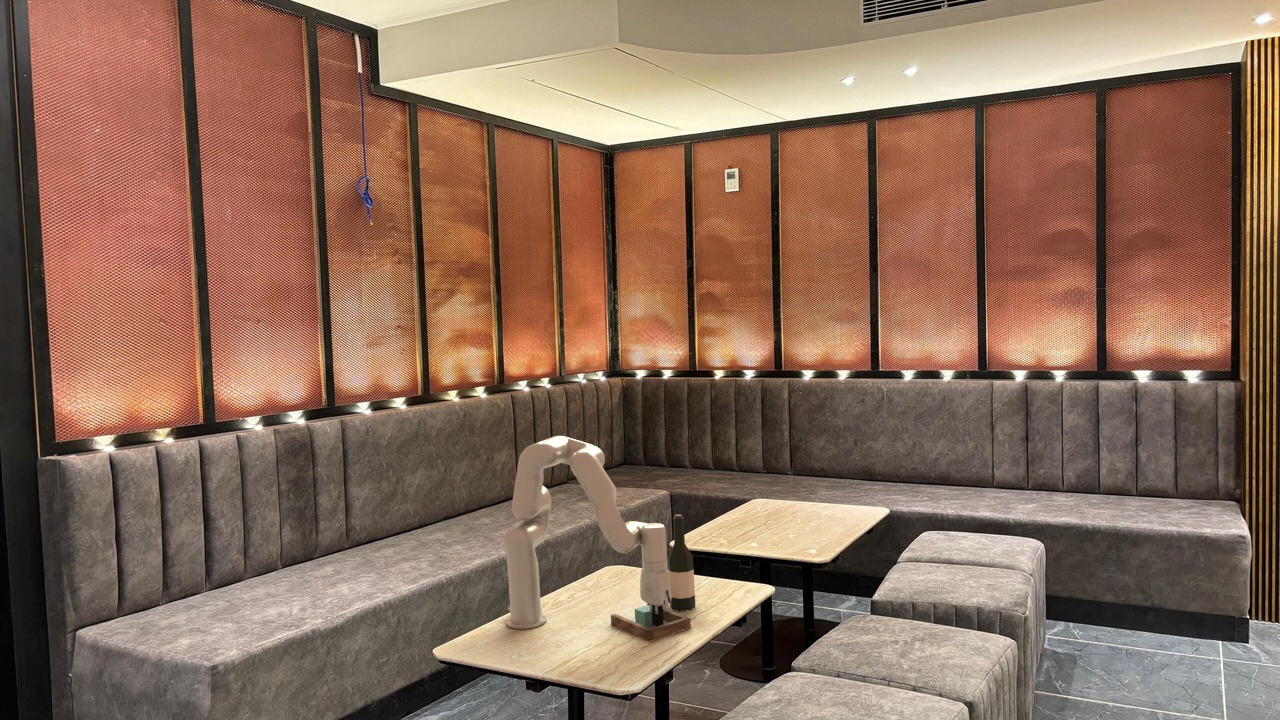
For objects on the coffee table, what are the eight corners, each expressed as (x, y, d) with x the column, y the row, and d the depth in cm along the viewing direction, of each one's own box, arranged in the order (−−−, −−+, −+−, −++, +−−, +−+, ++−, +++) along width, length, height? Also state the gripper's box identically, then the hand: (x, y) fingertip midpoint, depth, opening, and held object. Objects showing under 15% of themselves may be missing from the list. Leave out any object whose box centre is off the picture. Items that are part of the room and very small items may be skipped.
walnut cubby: (611, 624, 269) (610, 614, 269) (650, 612, 278) (650, 602, 278) (650, 641, 253) (649, 631, 253) (690, 627, 263) (690, 618, 263)
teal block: (635, 624, 268) (634, 608, 268) (648, 620, 271) (647, 605, 271) (645, 629, 264) (644, 612, 264) (658, 624, 267) (657, 608, 267)
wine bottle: (667, 611, 279) (662, 518, 277) (672, 602, 287) (668, 512, 285) (693, 611, 277) (688, 518, 275) (697, 603, 285) (693, 512, 283)
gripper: (630, 562, 266) (633, 622, 267) (660, 572, 254) (663, 635, 255) (649, 557, 270) (652, 616, 271) (680, 567, 258) (683, 628, 259)
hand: (658, 625), depth 263 cm, fingers closed
